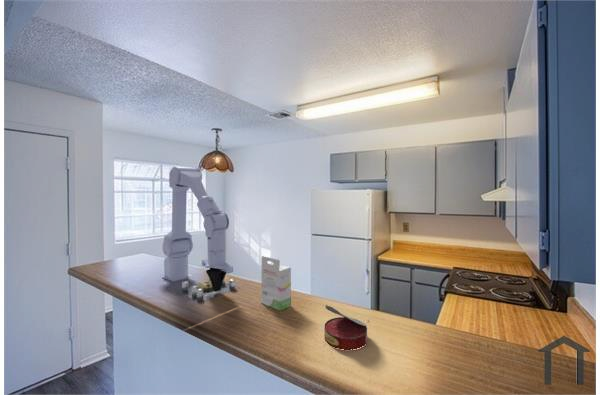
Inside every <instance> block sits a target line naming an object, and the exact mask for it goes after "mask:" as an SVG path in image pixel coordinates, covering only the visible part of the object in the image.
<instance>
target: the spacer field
mask: <svg viewBox="0 0 600 395" xmlns="http://www.w3.org/2000/svg"><path fill="white" fill-rule="evenodd" d="M208 281H210V278H209V277H208ZM238 289H241V287H240V286H237V285H236V280H235V279H234V278H231V279H229V280H228V282H226V276H225V277H224V280H223V283H222V287H221V290H220V291H217V292H215V291H213V289H212V290H210V291H203V289H202V288H200V289H199V283H197V284H194V285H191V286H189V280H183V281H182V282H181V288H180V289H177V290H174V292H175V293H177V294H180V295H182V296H184V297H186V298H189V299H191V300H194V301H196V302H198V303H201V302H204V301H207V300H210V299H212V298H215V297H218V296H222V295H224V294H227V293H229V292H232V291H235V290H238Z"/></svg>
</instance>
